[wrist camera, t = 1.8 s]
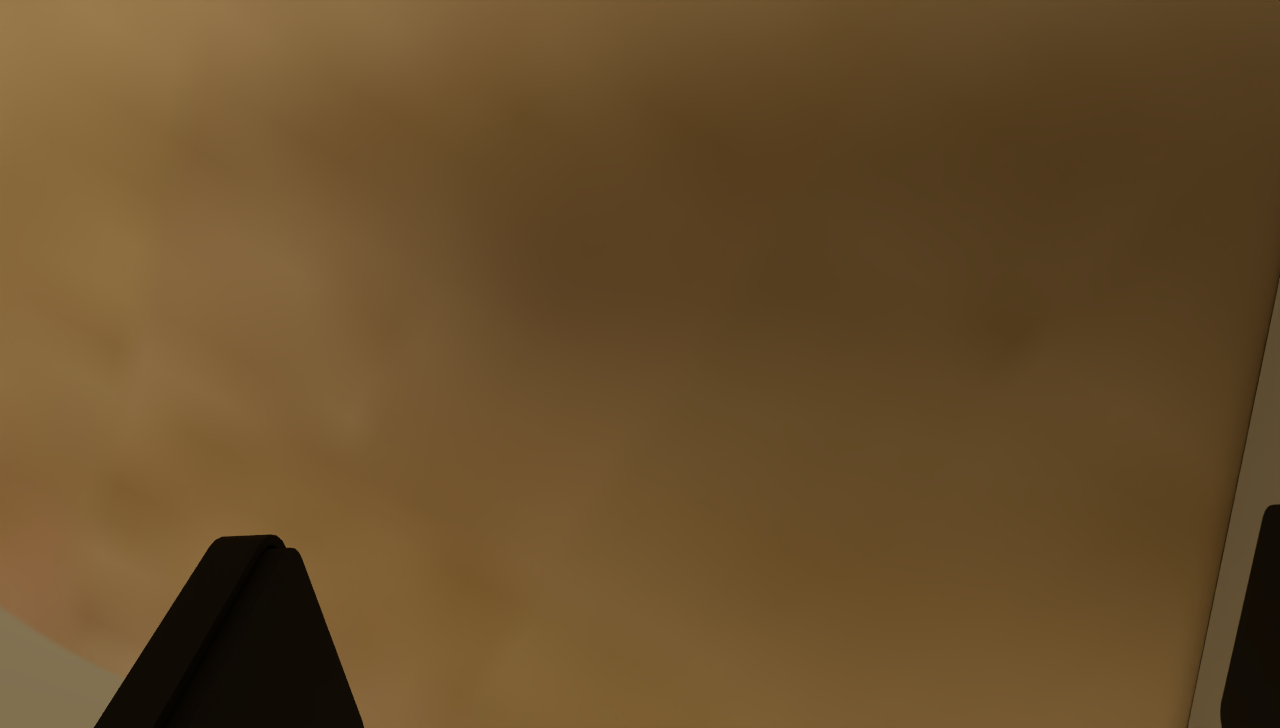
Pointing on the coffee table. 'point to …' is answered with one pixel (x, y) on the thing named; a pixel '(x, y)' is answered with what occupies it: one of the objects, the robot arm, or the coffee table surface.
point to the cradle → (1242, 532)
